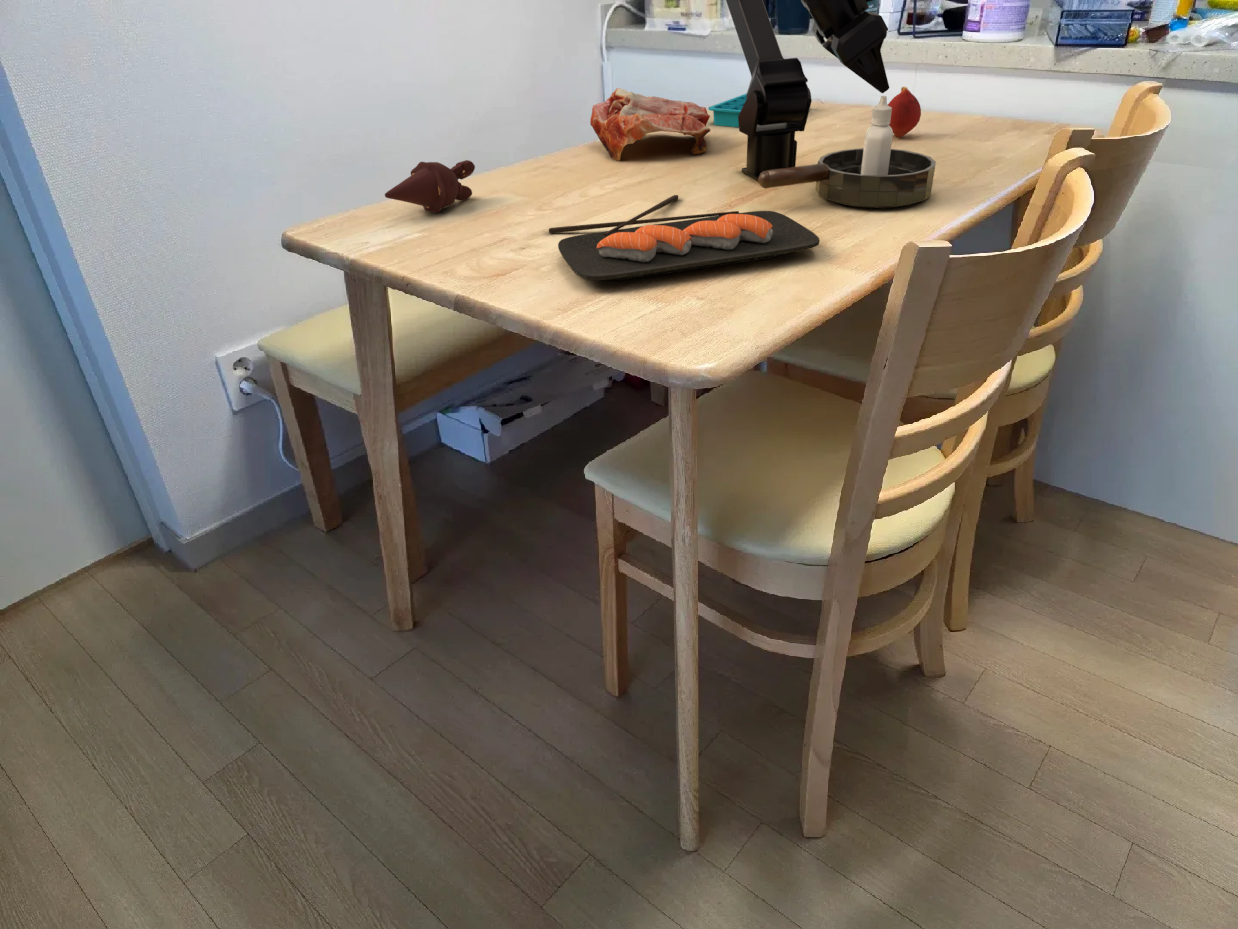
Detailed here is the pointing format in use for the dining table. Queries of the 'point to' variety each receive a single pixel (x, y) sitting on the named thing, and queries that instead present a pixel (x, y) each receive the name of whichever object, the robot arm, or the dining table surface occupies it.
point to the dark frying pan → (877, 179)
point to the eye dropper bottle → (878, 141)
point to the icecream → (434, 185)
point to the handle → (793, 175)
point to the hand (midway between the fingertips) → (877, 83)
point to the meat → (646, 120)
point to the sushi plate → (680, 243)
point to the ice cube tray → (728, 111)
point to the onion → (904, 112)
